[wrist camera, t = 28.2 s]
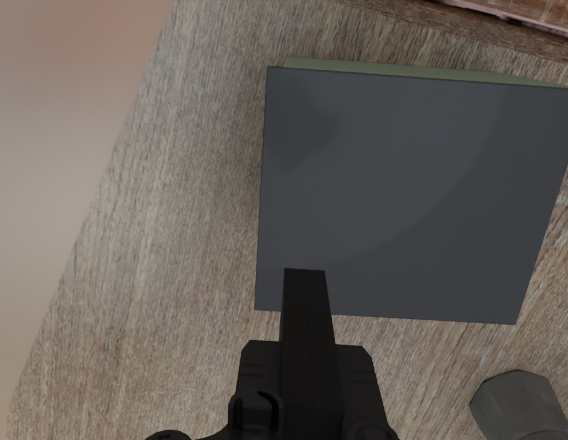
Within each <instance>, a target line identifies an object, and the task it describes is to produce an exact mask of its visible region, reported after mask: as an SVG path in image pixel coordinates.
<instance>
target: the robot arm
mask: <svg viewBox="0 0 568 440" xmlns="http://www.w3.org/2000/svg"><path fill="white" fill-rule="evenodd" d="M145 440H191V439H190V437H189V436H188V435H187V434H185V433H183V432H181V431H177V430H164V431H160V432H156V433H154V434H153V435H151V436H149V437H147V438H146V439H145ZM196 440H400V439H399V438H398V436H397V434H396V432H395V431H394V430H393V429H392V428H391V427H390V426H389V424H388V422H387V418H386V414H385V410H384V406H383V402H382V398H381V394H380V390H379V386H378V383H377V378H376V374H375V370H374V366H373V362H372V358H371V356H370V355H369V354H368V353H367V351H366V350H365V349H364V348H363V346H355V345H339V344H335V337H334V330H333V323H332V316H331V310H330V303H329V296H328V289H327V282H326V275H325V271H324V270H310V269H295V268H284V280H283V292H282V305H281V317H280V331H279V342H277V341H261V340H249V342H248V343H247V344H246V345H245V347H244V348H243V349H242V352H241V358H240V365H239V372H238V378H237V385H236V391H235V394H234V395H233V396H232V397H231V399H230V402H229V404H228V424H227V425H226V426H225V427H224V428H223V429H222V430H221V431H219V432H217V433H216V434H214V435H211V436H208V437H205V438H201V439H196Z"/></svg>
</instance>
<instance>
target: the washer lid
mask: <svg viewBox="0 0 568 440" xmlns="http://www.w3.org/2000/svg"><path fill="white" fill-rule="evenodd" d="M567 165H568V88H562V87H549V86H535V85H521V84H508V83H494V82H481V81H467V80H454V79H440V78H427V77H413V76H400V75H386V74H373V73H359V72H346V71H332V70H319V69H305V68H292V67H278V66H268V67H267V76H266V95H265V114H264V133H263V152H262V171H261V190H260V209H259V228H258V247H257V266H256V285H255V304H254V310H262V311H279V312H281V305H282V292H283V280H284V268H295V269H310V270H324V271H325V275H326V282H327V289H328V296H329V303H330V310H331V314H332V315H350V316H367V317H385V318H402V319H420V320H437V321H455V322H472V323H490V324H508V325H515V324H516V322H517V318H518V315H519V312H520V309H521V306H522V303H523V300H524V297H525V294H526V291H527V288H528V285H529V282H530V279H531V276H532V272H533V269H534V266H535V263H536V260H537V257H538V254H539V251H540V248H541V245H542V242H543V239H544V236H545V233H546V230H547V226H548V223H549V220H550V217H551V214H552V211H553V208H554V205H555V202H556V199H557V196H558V193H559V190H560V187H561V183H562V180H563V177H564V174H565V171H566V168H567Z"/></svg>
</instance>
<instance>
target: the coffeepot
mask: <svg viewBox="0 0 568 440" xmlns="http://www.w3.org/2000/svg"><path fill="white" fill-rule="evenodd" d="M469 407H470V409H471V412H472V414H473V416H474V418H475V420H476V422H477V424H478V426H479V428H480V430H481V431H482V433H483V434H484V435H485V437H486V438H487V440H568V421H567V419H566V417H565V415H564V413H563V410H562V408H561V406H560V404H559V402H558V400H557V398H556V396H555V394H554V391H553V389H552V387H551V385H550V383H549V381H548V379H546V378H543V377H540V376H538V375H535V374H532V373H528V372H520V371H513V372H507V373H504V374H500V375H498V376H495V377H493V378H491V379H490V380H488V381H486V382H485V383H483V384H482V385H481V387H480V388H479V389H478V390H477V391H476V393H475V395H474V397H473V400H472V403H471V404H470V406H469Z"/></svg>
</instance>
